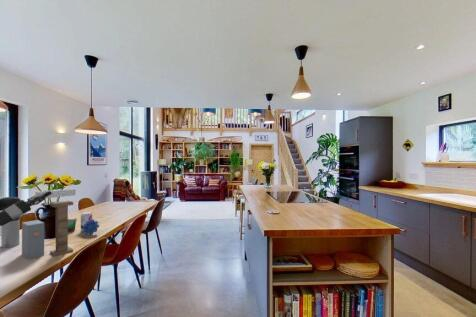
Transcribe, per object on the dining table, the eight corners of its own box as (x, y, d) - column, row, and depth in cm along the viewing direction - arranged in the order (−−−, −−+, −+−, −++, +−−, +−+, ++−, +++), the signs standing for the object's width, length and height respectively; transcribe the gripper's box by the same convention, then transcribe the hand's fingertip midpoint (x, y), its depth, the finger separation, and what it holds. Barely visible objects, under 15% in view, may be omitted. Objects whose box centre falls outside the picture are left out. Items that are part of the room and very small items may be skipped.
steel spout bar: (35, 198, 148) (35, 191, 148) (73, 194, 164) (73, 188, 164) (37, 199, 145) (37, 192, 145) (75, 195, 161) (75, 189, 161)
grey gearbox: (21, 254, 153) (22, 222, 153) (37, 250, 160) (38, 220, 160) (28, 259, 146) (28, 225, 146) (44, 255, 152) (44, 222, 152)
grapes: (100, 232, 199) (100, 217, 199) (98, 235, 193) (98, 219, 193) (83, 234, 195) (83, 219, 195) (81, 236, 189) (81, 221, 189)
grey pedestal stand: (50, 253, 155) (50, 202, 155) (68, 248, 163) (68, 200, 163) (54, 256, 150) (54, 204, 150) (73, 251, 158) (73, 201, 158)
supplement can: (94, 229, 208) (94, 211, 208) (88, 232, 199) (88, 214, 199) (84, 229, 207) (84, 212, 207) (78, 232, 199) (78, 214, 199)
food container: (56, 233, 198) (56, 220, 198) (60, 231, 204) (60, 219, 204) (74, 232, 201) (74, 219, 201) (76, 229, 207) (76, 218, 207)
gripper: (18, 213, 145) (49, 195, 157) (25, 216, 137) (57, 197, 149) (10, 203, 142) (42, 186, 154) (16, 206, 134) (49, 187, 146)
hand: (49, 192), depth 151 cm, fingers closed on steel spout bar, 4 cm apart
